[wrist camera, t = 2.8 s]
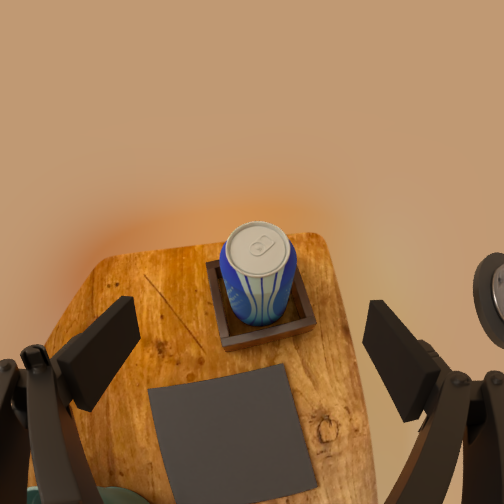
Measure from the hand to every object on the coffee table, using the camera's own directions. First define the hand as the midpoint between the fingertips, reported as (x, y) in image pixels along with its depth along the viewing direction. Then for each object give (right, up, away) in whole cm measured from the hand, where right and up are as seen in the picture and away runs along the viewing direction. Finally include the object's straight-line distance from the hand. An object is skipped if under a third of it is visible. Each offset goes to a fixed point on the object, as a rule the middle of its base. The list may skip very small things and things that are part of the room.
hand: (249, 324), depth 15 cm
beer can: (+1, -4, +28) cm, 28 cm away
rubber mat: (-3, -22, +17) cm, 28 cm away
